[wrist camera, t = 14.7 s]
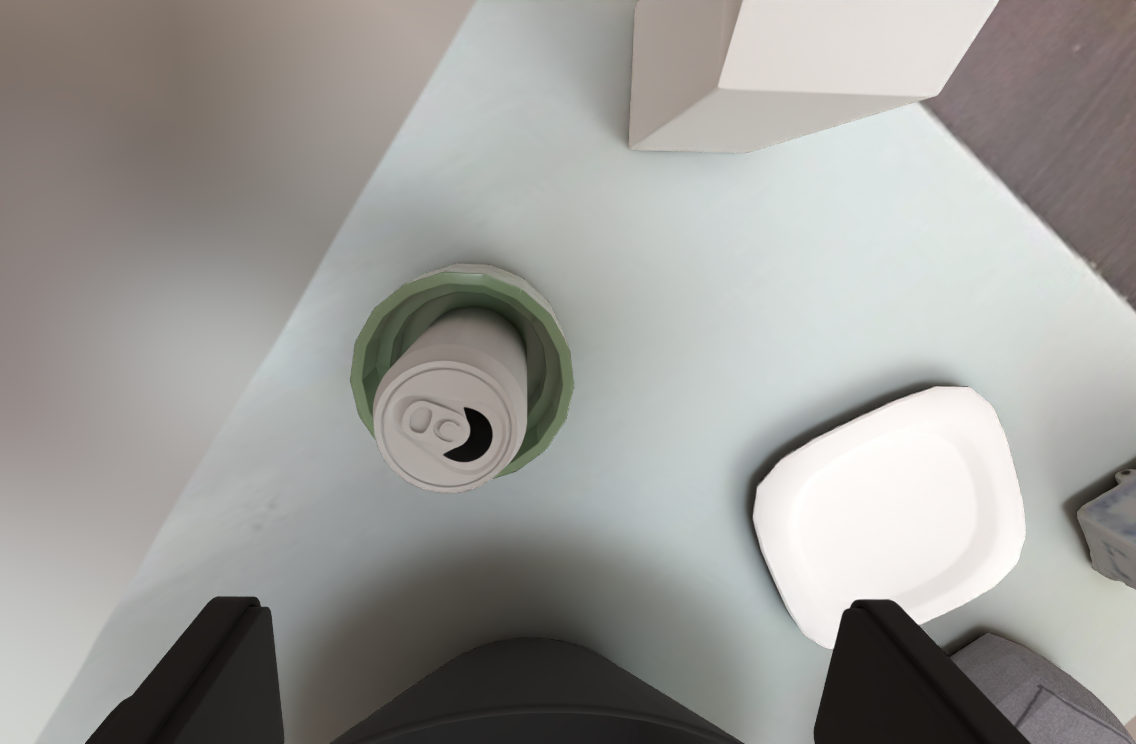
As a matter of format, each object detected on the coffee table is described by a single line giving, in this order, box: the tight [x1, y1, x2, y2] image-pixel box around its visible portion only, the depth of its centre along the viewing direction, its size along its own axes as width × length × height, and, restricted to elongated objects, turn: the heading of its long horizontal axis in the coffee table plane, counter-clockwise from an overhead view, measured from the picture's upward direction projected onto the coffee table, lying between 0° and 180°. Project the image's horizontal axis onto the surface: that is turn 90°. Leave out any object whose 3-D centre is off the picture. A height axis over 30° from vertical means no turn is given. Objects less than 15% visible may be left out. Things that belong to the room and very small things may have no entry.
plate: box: [752, 386, 1026, 649], centre depth 38 cm, size 18×18×2 cm
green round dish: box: [350, 263, 574, 479], centre depth 30 cm, size 11×11×6 cm
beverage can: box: [373, 307, 527, 493], centre depth 27 cm, size 6×6×12 cm
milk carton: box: [629, 0, 999, 153], centre depth 21 cm, size 7×7×19 cm
